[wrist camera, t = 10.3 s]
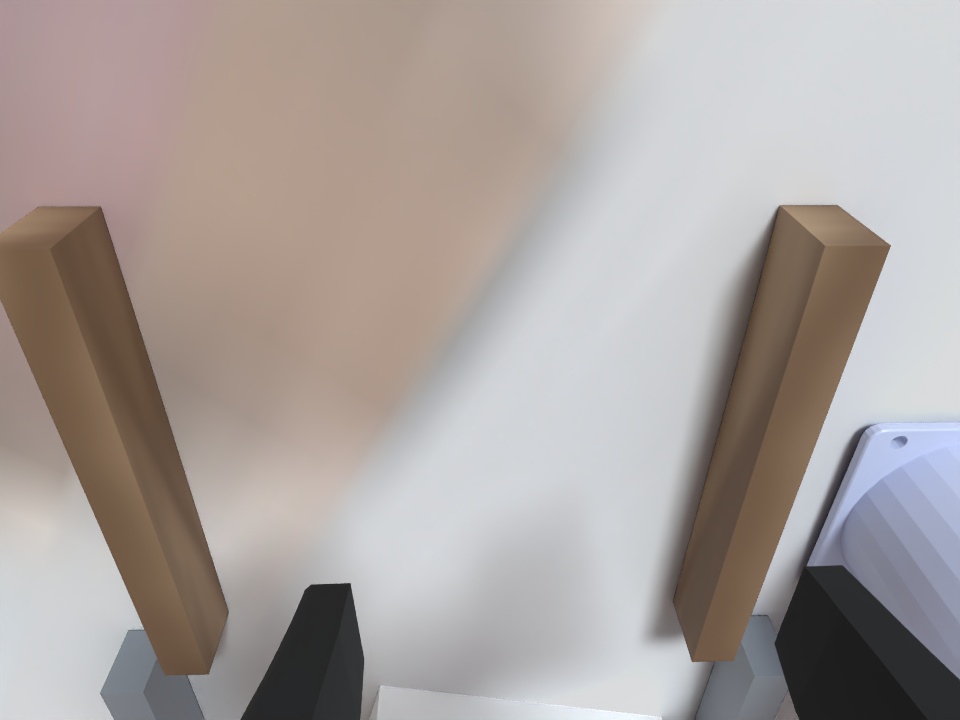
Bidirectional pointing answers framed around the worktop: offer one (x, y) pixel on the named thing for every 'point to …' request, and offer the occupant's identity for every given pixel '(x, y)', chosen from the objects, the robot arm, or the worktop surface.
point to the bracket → (477, 708)
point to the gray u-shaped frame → (721, 716)
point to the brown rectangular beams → (167, 497)
